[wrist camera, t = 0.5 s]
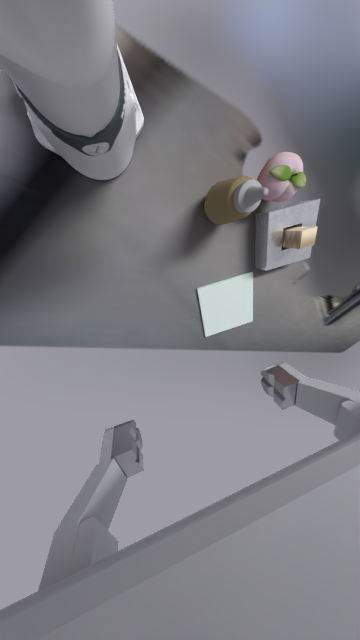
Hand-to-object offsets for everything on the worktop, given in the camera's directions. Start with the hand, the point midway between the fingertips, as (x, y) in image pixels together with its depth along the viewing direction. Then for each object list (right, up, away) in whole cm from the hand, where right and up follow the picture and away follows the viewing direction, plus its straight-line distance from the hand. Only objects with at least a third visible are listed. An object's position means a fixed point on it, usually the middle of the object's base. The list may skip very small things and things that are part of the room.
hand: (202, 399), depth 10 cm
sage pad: (+14, +9, +45) cm, 48 cm away
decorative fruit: (+19, +38, +31) cm, 53 cm away
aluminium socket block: (+27, +29, +38) cm, 55 cm away
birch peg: (+27, +29, +38) cm, 55 cm away
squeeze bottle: (+7, +32, +31) cm, 45 cm away
